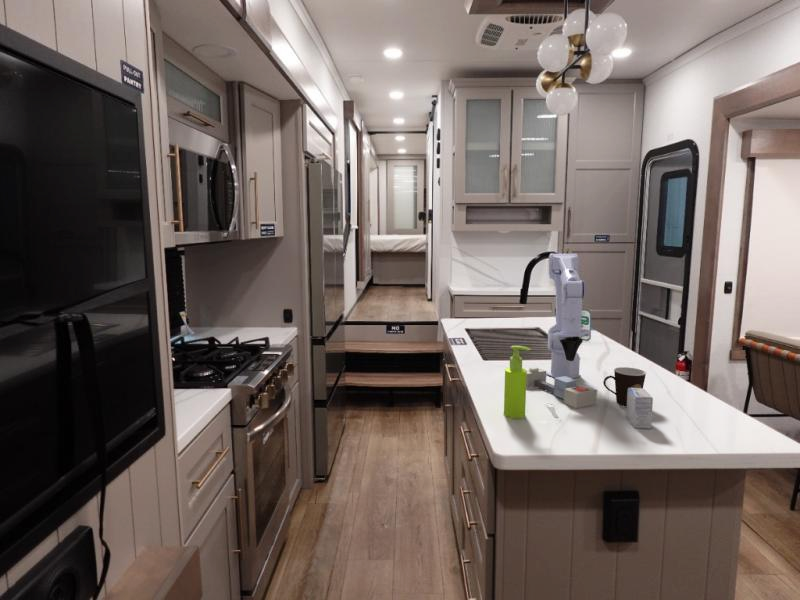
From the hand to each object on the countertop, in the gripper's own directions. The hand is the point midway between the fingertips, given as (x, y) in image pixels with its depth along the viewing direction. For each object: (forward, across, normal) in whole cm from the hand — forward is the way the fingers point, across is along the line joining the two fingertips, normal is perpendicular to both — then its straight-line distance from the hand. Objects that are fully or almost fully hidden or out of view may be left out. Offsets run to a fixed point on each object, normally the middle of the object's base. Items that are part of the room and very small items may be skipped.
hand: (569, 360), depth 159 cm
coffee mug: (+11, +7, -15) cm, 20 cm away
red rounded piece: (+9, -5, -10) cm, 14 cm away
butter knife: (+11, -19, -16) cm, 28 cm away
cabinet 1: (+10, -5, +11) cm, 16 cm away
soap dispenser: (+11, -28, -9) cm, 31 cm away
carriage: (+10, -5, -4) cm, 12 cm away
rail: (+10, -5, +1) cm, 12 cm away
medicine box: (+11, -2, -28) cm, 30 cm away
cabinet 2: (+10, -5, -10) cm, 15 cm away
